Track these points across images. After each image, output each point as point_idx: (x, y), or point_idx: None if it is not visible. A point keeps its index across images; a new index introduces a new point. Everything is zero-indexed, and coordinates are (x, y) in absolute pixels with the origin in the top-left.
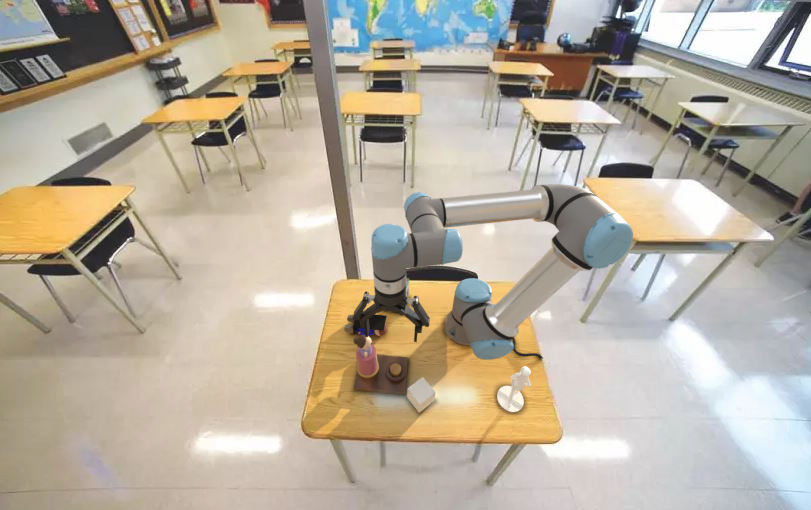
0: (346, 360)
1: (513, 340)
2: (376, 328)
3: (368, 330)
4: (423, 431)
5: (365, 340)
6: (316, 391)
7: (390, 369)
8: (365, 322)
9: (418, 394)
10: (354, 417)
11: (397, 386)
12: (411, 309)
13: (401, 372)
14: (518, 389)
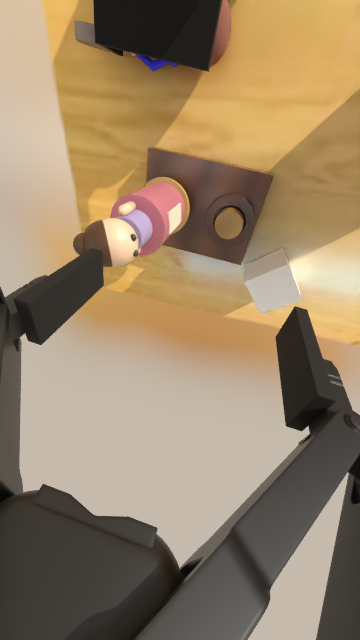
0: (119, 158)
1: None
2: (180, 60)
3: (91, 280)
4: (257, 318)
5: (108, 259)
6: (82, 228)
7: (215, 226)
8: (35, 339)
9: (263, 297)
10: (152, 280)
11: (228, 251)
12: (302, 534)
13: (244, 219)
14: None
